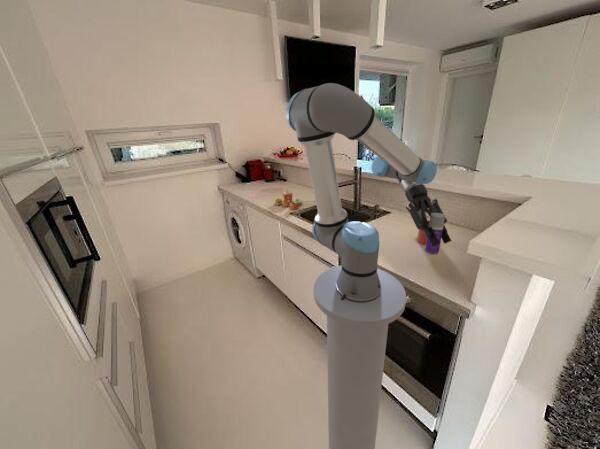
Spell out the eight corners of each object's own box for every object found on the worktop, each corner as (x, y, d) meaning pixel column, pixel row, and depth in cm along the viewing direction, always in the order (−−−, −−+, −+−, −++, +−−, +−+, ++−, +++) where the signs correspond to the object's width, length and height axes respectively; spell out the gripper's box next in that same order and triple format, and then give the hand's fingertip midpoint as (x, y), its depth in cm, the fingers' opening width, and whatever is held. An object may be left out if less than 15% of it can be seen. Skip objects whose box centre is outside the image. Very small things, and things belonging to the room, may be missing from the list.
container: (429, 255, 90) (436, 217, 85) (421, 249, 95) (427, 213, 89) (441, 254, 91) (448, 216, 85) (433, 248, 95) (439, 212, 90)
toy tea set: (271, 204, 185) (270, 191, 181) (287, 199, 194) (286, 187, 191) (294, 211, 167) (293, 197, 163) (310, 205, 176) (309, 192, 172)
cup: (426, 246, 112) (429, 228, 108) (413, 239, 119) (415, 222, 115) (440, 242, 114) (443, 225, 111) (426, 236, 121) (429, 219, 118)
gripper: (425, 191, 102) (452, 242, 93) (390, 196, 96) (415, 251, 88) (438, 180, 95) (469, 235, 87) (400, 186, 90) (430, 244, 82)
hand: (442, 243), depth 88 cm, fingers closed on container, 5 cm apart
